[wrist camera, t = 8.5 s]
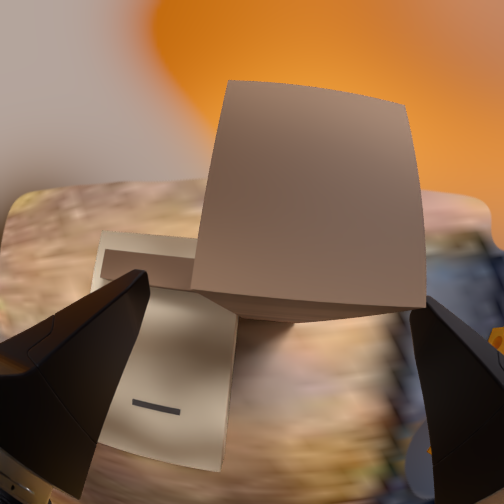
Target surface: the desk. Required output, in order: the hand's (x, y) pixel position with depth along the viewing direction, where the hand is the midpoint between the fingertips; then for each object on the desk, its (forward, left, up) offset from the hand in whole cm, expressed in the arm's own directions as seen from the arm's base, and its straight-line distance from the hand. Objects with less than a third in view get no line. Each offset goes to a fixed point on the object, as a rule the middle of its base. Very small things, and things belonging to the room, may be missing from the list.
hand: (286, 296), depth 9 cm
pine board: (-6, +6, -11) cm, 14 cm away
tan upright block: (0, +5, -11) cm, 12 cm away
